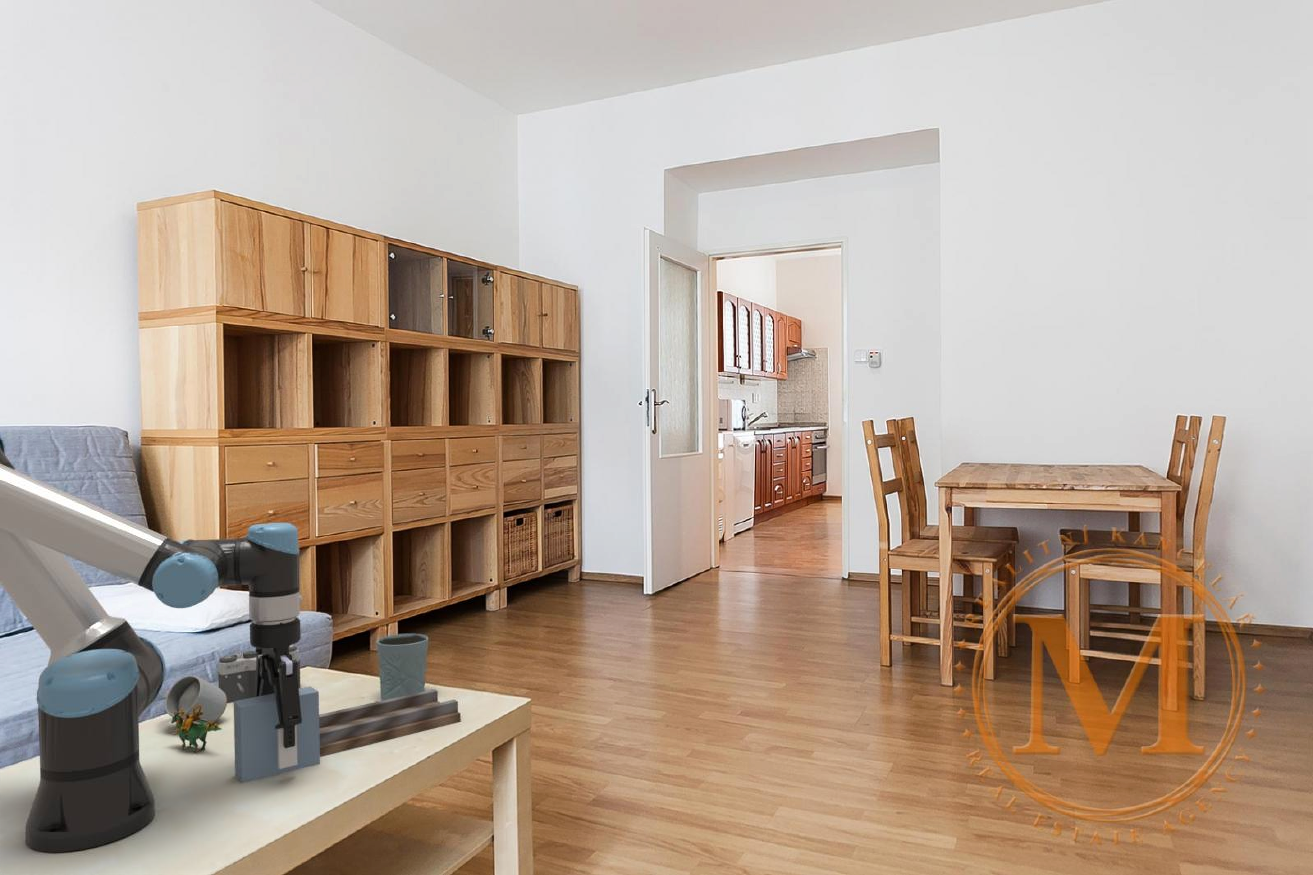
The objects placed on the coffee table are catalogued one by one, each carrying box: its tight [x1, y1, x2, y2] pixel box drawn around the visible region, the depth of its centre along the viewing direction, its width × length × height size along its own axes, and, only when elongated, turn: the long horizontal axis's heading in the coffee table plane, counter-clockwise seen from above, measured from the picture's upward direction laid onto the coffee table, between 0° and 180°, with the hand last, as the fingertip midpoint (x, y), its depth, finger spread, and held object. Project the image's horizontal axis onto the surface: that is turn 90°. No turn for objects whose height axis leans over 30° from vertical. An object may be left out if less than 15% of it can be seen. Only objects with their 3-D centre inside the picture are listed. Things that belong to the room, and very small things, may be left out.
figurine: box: [170, 705, 223, 754], centre depth 150 cm, size 3×12×8 cm, turn 67°
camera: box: [217, 644, 301, 704], centre depth 178 cm, size 16×10×10 cm, turn 131°
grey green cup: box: [375, 633, 429, 701], centre depth 178 cm, size 10×10×12 cm
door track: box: [319, 688, 462, 758], centre depth 160 cm, size 26×12×4 cm, turn 130°
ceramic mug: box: [162, 674, 228, 724], centre depth 163 cm, size 11×8×8 cm
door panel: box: [233, 685, 321, 784], centre depth 142 cm, size 12×4×12 cm, turn 130°
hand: (277, 756), depth 142 cm, fingers open, 9 cm apart
